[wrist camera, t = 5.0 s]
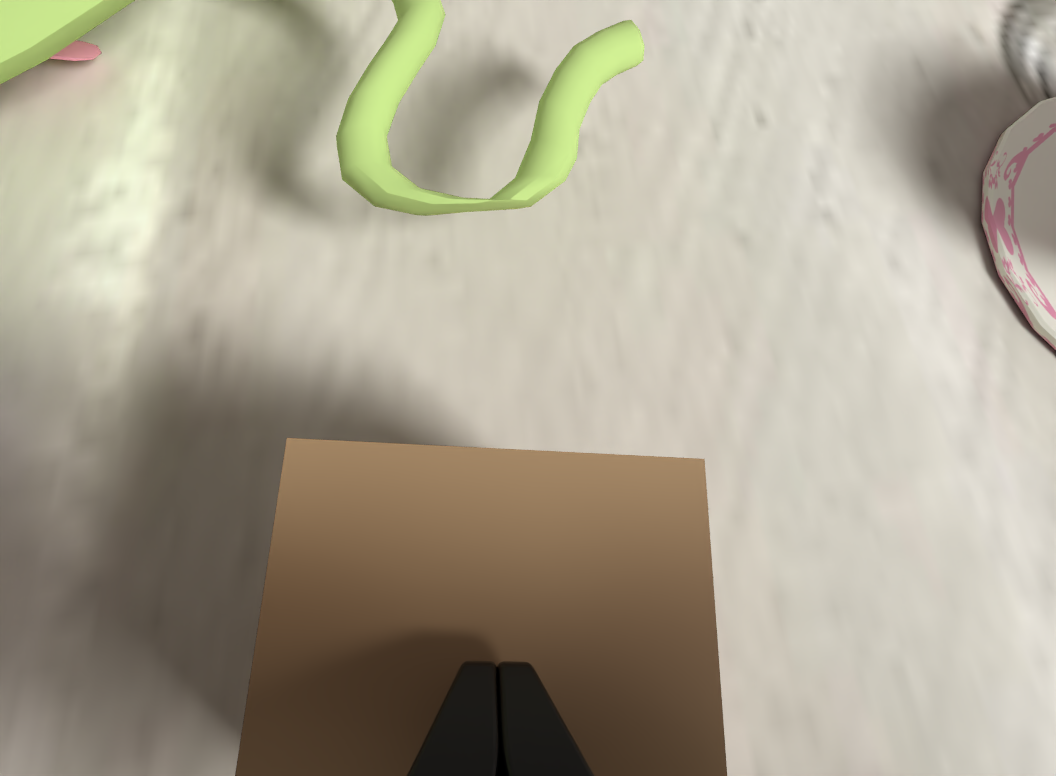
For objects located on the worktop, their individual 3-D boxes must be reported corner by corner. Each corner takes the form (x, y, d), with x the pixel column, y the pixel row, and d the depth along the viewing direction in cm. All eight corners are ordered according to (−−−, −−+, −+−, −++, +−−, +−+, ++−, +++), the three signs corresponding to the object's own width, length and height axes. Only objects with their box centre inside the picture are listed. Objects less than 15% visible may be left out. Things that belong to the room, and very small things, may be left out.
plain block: (603, 825, 16) (739, 957, 8) (323, 824, 15) (207, 962, 8) (599, 548, 18) (704, 459, 11) (354, 538, 18) (287, 438, 10)
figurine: (662, 246, 22) (731, 118, 16) (-415, 597, 16) (-845, 572, 11) (446, -169, 27) (445, -368, 21) (-429, -20, 21) (-724, -244, 16)
